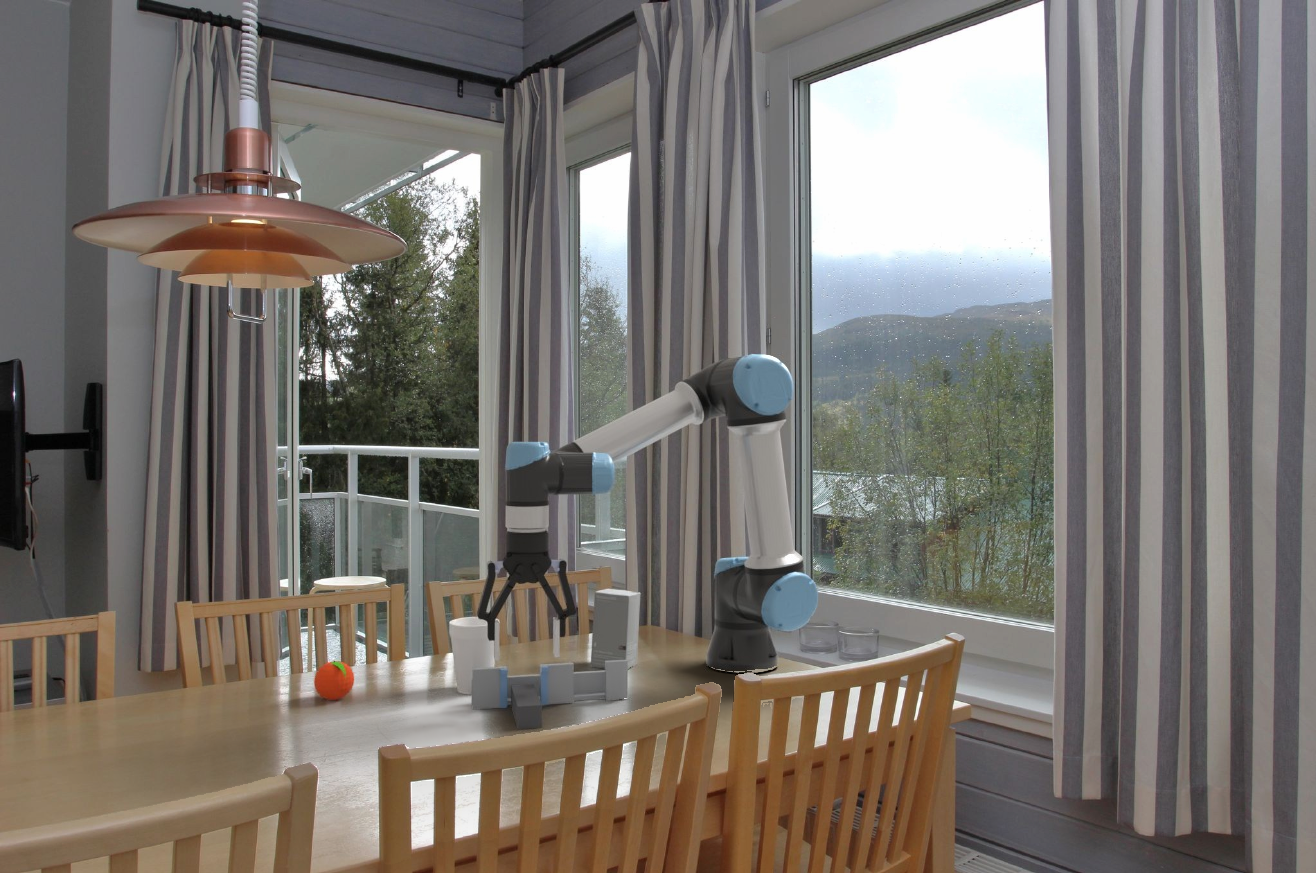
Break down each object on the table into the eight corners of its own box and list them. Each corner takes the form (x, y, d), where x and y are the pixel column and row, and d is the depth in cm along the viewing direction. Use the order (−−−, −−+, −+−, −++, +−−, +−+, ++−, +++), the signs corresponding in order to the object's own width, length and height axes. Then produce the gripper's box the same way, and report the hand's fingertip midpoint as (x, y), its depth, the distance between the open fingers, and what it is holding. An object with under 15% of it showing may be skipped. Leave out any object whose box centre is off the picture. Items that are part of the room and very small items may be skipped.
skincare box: (590, 667, 196) (590, 592, 196) (604, 660, 203) (605, 587, 203) (627, 671, 193) (627, 594, 193) (640, 664, 200) (641, 589, 200)
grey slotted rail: (622, 693, 177) (622, 655, 177) (628, 700, 172) (629, 662, 172) (471, 702, 170) (471, 664, 170) (473, 711, 165) (473, 671, 165)
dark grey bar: (533, 706, 169) (533, 683, 169) (542, 728, 156) (542, 704, 156) (511, 707, 168) (511, 685, 168) (517, 730, 155) (517, 706, 155)
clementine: (364, 700, 171) (364, 661, 171) (328, 708, 166) (328, 668, 166) (342, 691, 177) (342, 654, 177) (307, 699, 172) (307, 660, 172)
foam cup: (487, 697, 173) (487, 627, 173) (440, 694, 175) (441, 625, 175) (506, 684, 183) (506, 617, 183) (461, 681, 184) (461, 615, 184)
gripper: (586, 526, 171) (586, 649, 171) (460, 528, 165) (460, 655, 165) (593, 530, 163) (593, 658, 163) (462, 533, 158) (462, 665, 158)
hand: (526, 657), depth 164 cm, fingers open, 10 cm apart
